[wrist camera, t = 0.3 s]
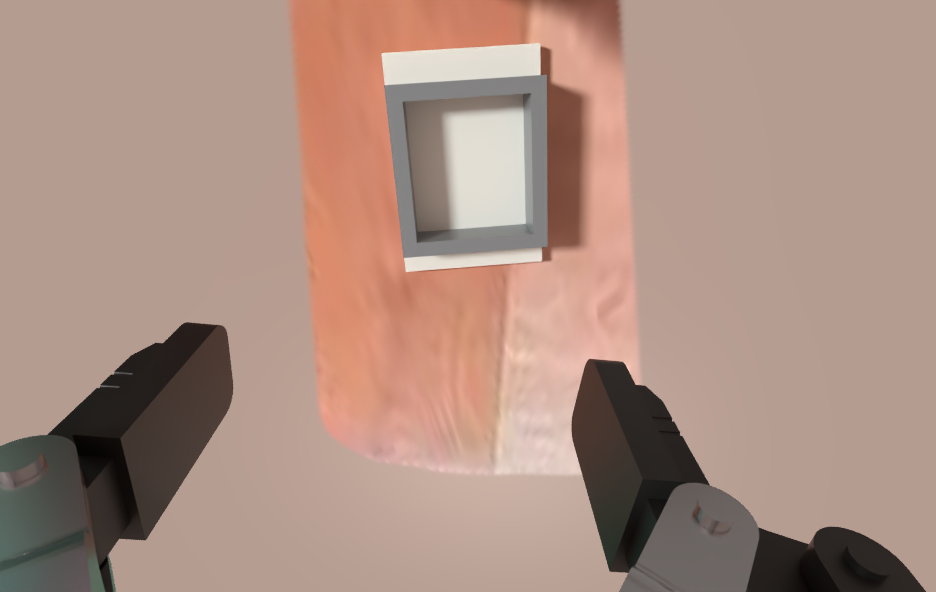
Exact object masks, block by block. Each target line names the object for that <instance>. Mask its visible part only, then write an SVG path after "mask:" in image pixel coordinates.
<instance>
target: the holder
mask: <svg viewBox="0 0 936 592" xmlns="http://www.w3.org/2000/svg"><path fill="white" fill-rule="evenodd" d="M382 62H383V71H384V80H385V85H384V87H385V96H386V105H387V114H388V123H389V132H390V141H391V150H392V159H393V167H394V176H395V185H396V194H397V203H398V212H399V221H400V230H401V239H402V248H403V256H404V259H405V268H406V272H411V271H423V270H436V269H449V268H461V267H474V266H487V265H500V264H512V263H525V262H538V261H542V247H548V211H547V75H541V69H540V43H537V44H521V45H505V46H489V47H473V48H457V49H441V50H425V51H408V52H392V53H382Z"/></svg>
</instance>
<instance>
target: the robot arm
mask: <svg viewBox="0 0 936 592" xmlns="http://www.w3.org/2000/svg"><path fill="white" fill-rule="evenodd" d="M232 395H233V380H232V371H231V361H230V353H229V344H228V336H227V331H226V329H225V328H224V327H223V326H221V325H210V324H199V323H188V322H187V323H184V324H182V325H181V326H180V327H179V328H178V329H177V330H176V331H175V332H174V333H173V334H172V335H171V336H170V337H169V338H168V339H167V340H166V341H165V342H164V343H155V344H153V345H151V346H149V347H147V348H145V349H143V350H141V351H139V352H137V353H135V354H133V355H131V356H130V357H129V358H128V359H127V360H126V361H125V362H124V363H123V364H122V365H121V366H120V367H119V368H118V369H116V370H115V373H114V375H110V376H109V377H108V378H107V379H106V380H105V381H104V382H103V383H102V384H101V386H100V388H96V389H95V390H94V391H93V392H92V393H91V394H90V395H89V396H88V397H87V398H86V399H85V400H84V401H83V402H82V403H80V404H79V405H78V406H77V407H76V408H75V409H74V410H73V411H72V412H71V413H70V414H69V415H68V416H67V417H66V418H65V419H64V420H62V421H61V422H60V423H59V424H58V425H57V426H56V427H55V428H54V429H53V430H52V431H51V432H50V433H49V434H48V435H39V436H31V437H27V438H22V439H18V440H15V441H12V442H9V443H7V444H4V445H2V446H0V592H116V588H115V584H114V578H113V571H112V566H111V561H110V558H109V555H108V554H109V552H110V551H111V550H112V548H113V547H114V545H115V544H116V542H117V541H118V540H119V539H133V540H146V539H147V538H148V536H149V534H150V533H151V531H152V530H153V528H154V527H155V525H156V523H157V522H158V520H159V519H160V517H161V515H162V514H163V512H164V511H165V509H166V508H167V506H168V504H169V503H170V501H171V500H172V498H173V496H174V495H175V493H176V492H177V490H178V489H179V487H180V485H181V484H182V482H183V481H184V479H185V478H186V476H187V475H188V473H189V471H190V470H191V468H192V467H193V465H194V463H195V462H196V460H197V459H198V457H199V456H200V454H201V453H202V451H203V449H204V448H205V446H206V445H207V443H208V442H209V440H210V438H211V437H212V435H213V434H214V432H215V430H216V429H217V427H218V426H219V424H220V423H221V421H222V419H223V418H224V416H225V415H226V413H227V411H228V409H229V406H230V404H231V399H232ZM572 438H573V443H574V446H575V450H576V454H577V457H578V461H579V464H580V468H581V471H582V475H583V478H584V482H585V485H586V489H587V493H588V496H589V500H590V503H591V507H592V510H593V514H594V518H595V521H596V524H597V528H598V532H599V535H600V539H601V542H602V546H603V550H604V553H605V556H606V560H607V564H608V567H609V571H611V572H627V573H628V575H627V577H626V579H625V581H624V583H623V585H622V587H621V589H620V591H619V592H926V591H925V590H924V589H923V587H922V586H921V585H920V583H918V581H917V580H916V579H915V577H914V576H913V575H912V573H910V571H909V570H908V569H907V567H906V566H905V565H904V564H903V563H902V562H901V561H900V560H899V559H898V558H897V557H896V556H895V555H893V554H892V553H891V552H890V551H888V550H887V549H886V548H884V547H883V546H881V545H880V544H879V543H877V542H875V541H874V540H872V539H870V538H868V537H866V536H864V535H862V534H860V533H857V532H855V531H852V530H849V529H845V528H840V527H825V528H822V529H820V530H819V531H817V532H816V534H815V536H814V537H813V539H812V541H811V542H810V544H806V543H803V542H800V541H797V540H794V539H791V538H787V537H785V536H782V535H778V534H775V533H772V532H769V531H766V530H764V529H761V528H758V526H757V523H756V521H755V520H754V518H753V516H752V515H751V514H750V512H749V511H748V510H747V509H746V508H745V507H744V506H743V505H742V504H741V503H740V502H739V501H737V500H736V499H735V498H733V497H732V496H730V495H729V494H727V493H725V492H723V491H722V490H720V489H717V488H715V487H712V486H710V485H709V483H708V481H707V479H706V478H705V476H704V474H703V472H702V470H701V469H700V467H699V465H698V463H697V462H696V460H695V458H694V456H693V454H692V453H691V451H690V449H689V448H688V446H687V444H686V442H685V440H684V438H683V437H682V436H680V431H679V430H678V428H677V426H676V424H675V422H672V417H671V415H670V414H669V412H668V410H667V408H666V406H665V405H664V403H663V402H662V400H661V399H659V398H658V397H657V396H656V395H655V394H654V393H653V392H652V391H651V390H649V389H648V388H647V387H646V386H642V385H635V383H634V381H633V379H632V377H631V375H630V373H629V371H628V369H627V367H626V365H625V364H624V363H623V362H619V361H608V360H597V359H589V360H588V361H587V363H586V365H585V368H584V372H583V376H582V380H581V384H580V388H579V391H578V395H577V399H576V403H575V407H574V411H573V416H572Z"/></svg>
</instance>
